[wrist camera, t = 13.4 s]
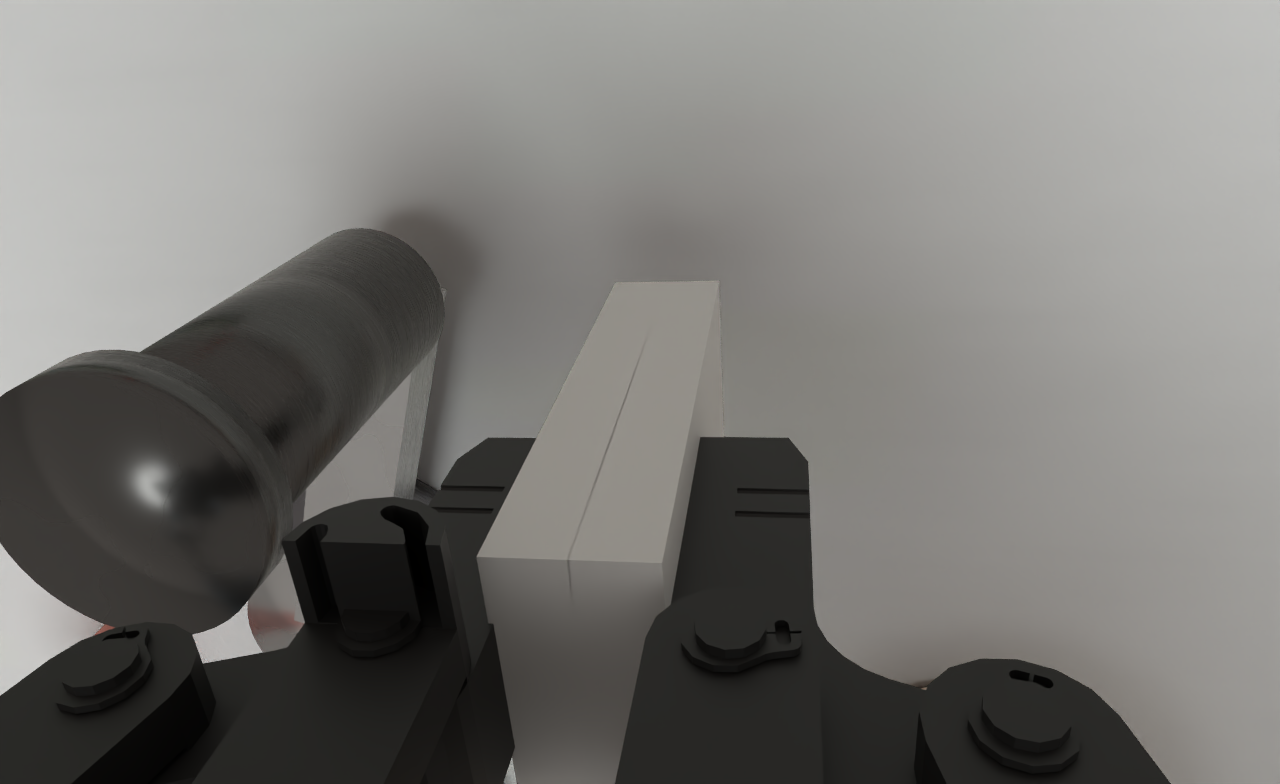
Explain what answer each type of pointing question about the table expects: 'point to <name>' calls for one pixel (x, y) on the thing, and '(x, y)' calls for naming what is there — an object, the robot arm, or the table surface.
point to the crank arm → (223, 441)
